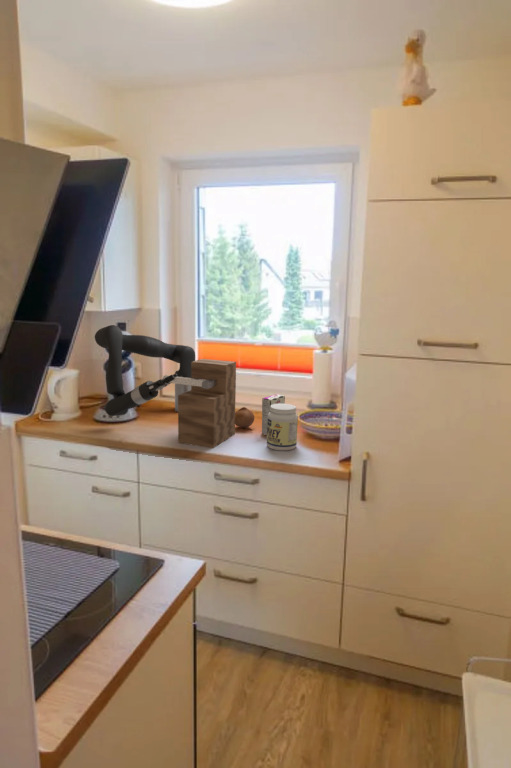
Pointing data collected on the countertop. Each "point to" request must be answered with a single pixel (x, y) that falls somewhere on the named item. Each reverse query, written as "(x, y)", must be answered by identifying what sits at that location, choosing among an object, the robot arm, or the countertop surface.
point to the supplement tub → (282, 427)
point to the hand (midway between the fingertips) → (175, 376)
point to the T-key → (194, 381)
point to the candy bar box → (266, 408)
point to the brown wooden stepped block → (208, 405)
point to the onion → (244, 418)
